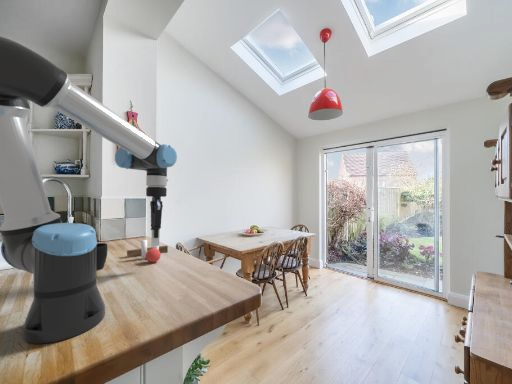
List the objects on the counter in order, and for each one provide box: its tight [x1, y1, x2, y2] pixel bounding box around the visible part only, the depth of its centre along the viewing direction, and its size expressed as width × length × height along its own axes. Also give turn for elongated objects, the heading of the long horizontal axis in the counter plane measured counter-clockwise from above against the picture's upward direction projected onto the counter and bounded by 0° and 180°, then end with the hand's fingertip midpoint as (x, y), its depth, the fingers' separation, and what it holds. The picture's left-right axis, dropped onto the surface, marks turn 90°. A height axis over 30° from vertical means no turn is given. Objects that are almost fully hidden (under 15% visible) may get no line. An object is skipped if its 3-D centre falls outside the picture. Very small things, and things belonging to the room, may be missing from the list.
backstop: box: [126, 245, 169, 259], centre depth 116 cm, size 2×18×3 cm, turn 122°
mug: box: [96, 242, 108, 272], centre depth 96 cm, size 8×12×10 cm
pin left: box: [140, 239, 148, 261], centre depth 108 cm, size 2×2×8 cm
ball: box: [145, 248, 162, 263], centre depth 103 cm, size 6×6×6 cm
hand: (155, 245), depth 94 cm, fingers closed
